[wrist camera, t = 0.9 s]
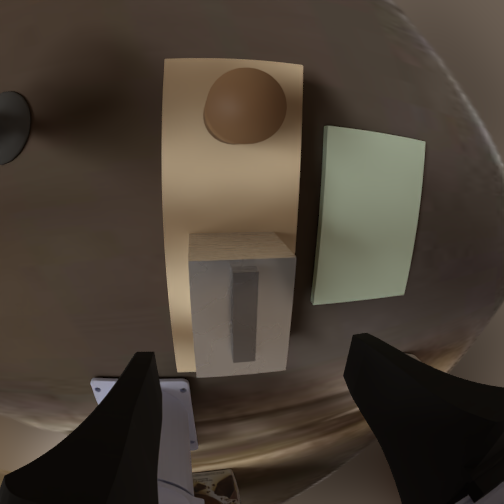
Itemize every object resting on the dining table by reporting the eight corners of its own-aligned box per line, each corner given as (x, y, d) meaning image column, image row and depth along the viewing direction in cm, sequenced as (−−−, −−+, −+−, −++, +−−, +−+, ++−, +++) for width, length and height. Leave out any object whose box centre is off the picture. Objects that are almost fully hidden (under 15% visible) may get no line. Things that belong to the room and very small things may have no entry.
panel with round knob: (274, 339, 23) (302, 405, 16) (178, 345, 21) (177, 417, 15) (286, 76, 17) (335, 45, 10) (168, 72, 16) (156, 32, 9)
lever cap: (267, 328, 19) (288, 377, 14) (194, 333, 18) (197, 385, 14) (273, 231, 17) (301, 262, 12) (188, 233, 16) (187, 267, 12)
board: (399, 291, 24) (403, 294, 23) (310, 301, 22) (313, 305, 22) (420, 141, 20) (425, 141, 19) (323, 126, 18) (327, 125, 18)
